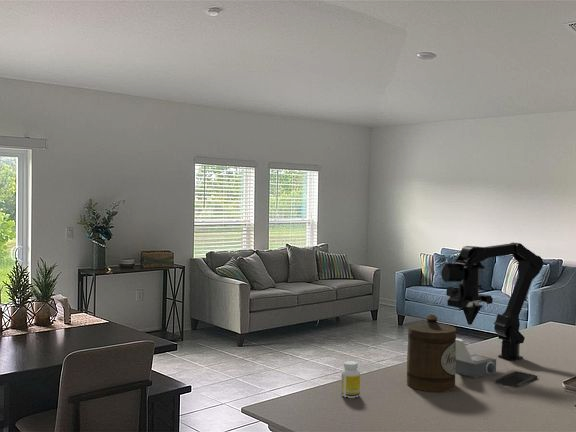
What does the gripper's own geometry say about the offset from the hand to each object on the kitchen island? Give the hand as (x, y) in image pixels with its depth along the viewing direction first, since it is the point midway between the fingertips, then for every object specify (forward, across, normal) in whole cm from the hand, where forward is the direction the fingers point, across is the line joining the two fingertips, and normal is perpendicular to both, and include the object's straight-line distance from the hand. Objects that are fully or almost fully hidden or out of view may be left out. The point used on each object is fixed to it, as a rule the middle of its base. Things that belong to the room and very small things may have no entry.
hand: (469, 324), depth 222 cm
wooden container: (+13, +34, +12) cm, 38 cm away
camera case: (+13, +11, +11) cm, 20 cm away
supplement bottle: (+14, +62, +6) cm, 64 cm away
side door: (+4, +19, +11) cm, 22 cm away
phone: (+14, +7, +24) cm, 29 cm away
